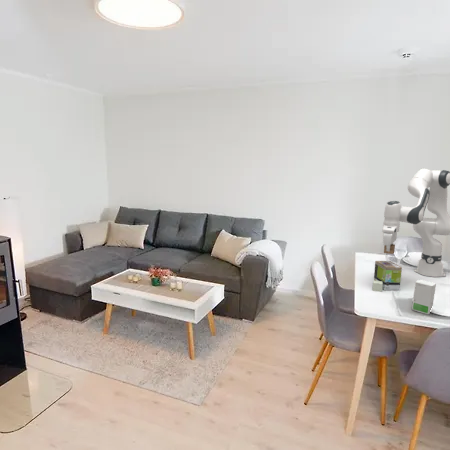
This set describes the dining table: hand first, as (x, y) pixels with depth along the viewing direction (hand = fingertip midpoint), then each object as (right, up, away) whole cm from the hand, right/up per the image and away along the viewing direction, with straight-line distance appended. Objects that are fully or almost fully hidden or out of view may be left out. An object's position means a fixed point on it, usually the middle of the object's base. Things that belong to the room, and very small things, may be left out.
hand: (389, 250), depth 208 cm
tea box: (0, -23, +4) cm, 24 cm away
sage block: (-8, -24, -2) cm, 26 cm away
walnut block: (0, -2, 0) cm, 2 cm away
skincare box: (+2, -29, -32) cm, 43 cm away
